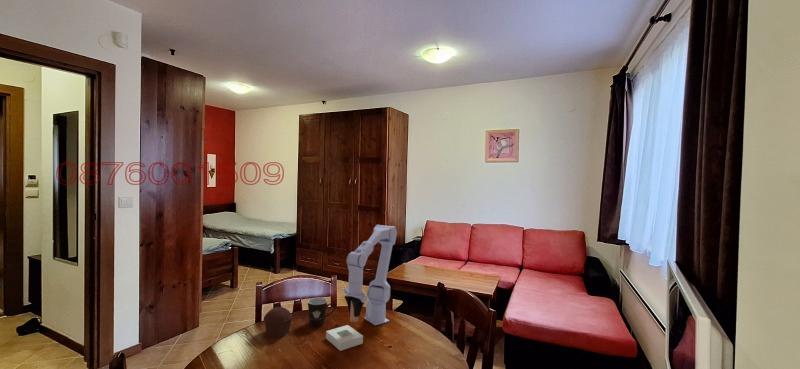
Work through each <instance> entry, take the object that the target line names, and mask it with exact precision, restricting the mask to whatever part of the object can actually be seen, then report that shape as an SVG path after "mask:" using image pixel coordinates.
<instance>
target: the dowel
mask: <svg viewBox="0 0 800 369" xmlns="http://www.w3.org/2000/svg"><path fill="white" fill-rule="evenodd" d="M353 300H354V299H353ZM359 317H360V316H358V317H354V308H353V303H352V300H351V309H350V314H349V322H351V323H357V322H359Z"/></svg>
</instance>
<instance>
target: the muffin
mask: <svg viewBox="0 0 800 369" xmlns="http://www.w3.org/2000/svg"><path fill="white" fill-rule="evenodd" d="M292 318H293V314H292V312H291V311H290V310H289V309H287V308H286V307H283V306H276V307H273V308H271V309H270V310H268V311H267V312H266V313H265V315H264V317H263V322H264V324H265V325H264V326H265V333H266V336H267V337H269V338H271V337H272V338H281V337H284V336H286V335H287V334H289V331H290V329H291V328H290V327H291V321H292Z"/></svg>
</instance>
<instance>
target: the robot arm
mask: <svg viewBox="0 0 800 369" xmlns="http://www.w3.org/2000/svg"><path fill="white" fill-rule="evenodd" d="M397 236H398V230H397V228H396V226H395V225H392V226H391V225H382V224H376V225H375V227H373V231H372V234H371V235H370V237H369V238H368V239H367V240H364V241H362V243H361V244H360V245H359V246H358V247H357V248H356V249H355V250H354V251H351V252H349V253H348V255H347V257H346V262H345V263H346V265H347V270H348V284H347V285H348V287H344V288H343V289H344V290H343V293H344V294H345V296H344V299H345V301H346V303H347V304H346V305H347V309H348V313H349V315H350V309H351V300H352V303H353V308H354V317H358V316H359V317H360V315H361V313H362V312H361V311H362V310H363V306H364V305H366V306H365V316H364V318H363V319H364V320H366V321H368V322H369V323H371V324H372V325H374V326H379V325H382V324H385V323H388V322H390V320H389V319H388V318H386V314H387V313H386V309H387V307H386V305H387V302H389V300H390V297H391V285H390V284H389V283H388V281H387V277H388V271H389V266H390V262H391V258H392V257H391V256H392V251H393V246H394V245H396V243H397V242H396V241H397ZM378 243H379V244H380V245H381V248H380V252H379V253H380V254H379V257H378V258H379V259H378V263H377V268H376V274H375V278H374V279H373V280H371V281H370V282H369V285H368V288H367V290H366V295H365V294H364V291H363V282H364V267H365V266H366V263H367V261H368V257H369V256H370V255H371V254H372V253H373V252H374V247H375V245H376V244H378ZM353 299H354V300H353ZM365 303H366V304H365Z"/></svg>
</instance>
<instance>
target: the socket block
mask: <svg viewBox="0 0 800 369" xmlns="http://www.w3.org/2000/svg"><path fill="white" fill-rule="evenodd" d="M325 339H326V340H327V341H328V342H329V343H330V344H332V345H333V346H334V347H335V348H336V349H338V350H339V351H340V352H341V351H344V350H347V349H351V348H353V347H357V346H359V345H362V344H364V335H363V334H361V333H360V332H358V331H357V330H356V329H355V328H353V327H351V326H350V325H349V324H346V325H343V326H338V327H336V328H332V329H329V330H326V331H325Z"/></svg>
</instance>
